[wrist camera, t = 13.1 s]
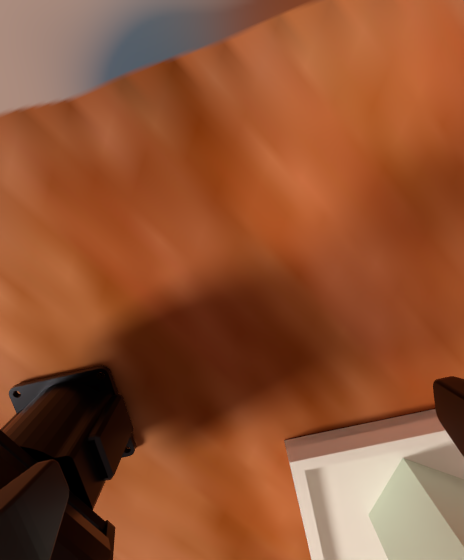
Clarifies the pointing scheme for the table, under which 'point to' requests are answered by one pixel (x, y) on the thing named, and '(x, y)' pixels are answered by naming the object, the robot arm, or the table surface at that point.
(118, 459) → the robot arm
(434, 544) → the sage block
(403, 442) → the tray
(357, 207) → the table surface
